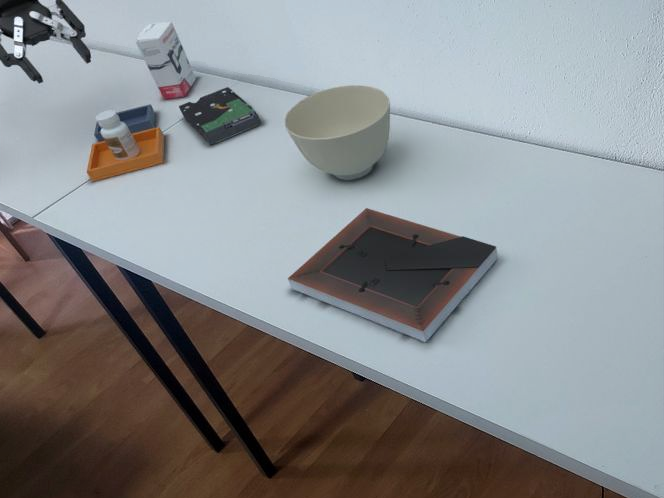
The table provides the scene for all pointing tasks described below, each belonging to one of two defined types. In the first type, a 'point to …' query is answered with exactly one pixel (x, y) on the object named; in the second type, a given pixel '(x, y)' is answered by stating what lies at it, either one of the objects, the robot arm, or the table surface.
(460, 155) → the table surface
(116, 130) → the pill bottle
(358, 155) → the bowl
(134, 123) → the slate tray
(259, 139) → the table surface
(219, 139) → the disk drive
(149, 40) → the ink box
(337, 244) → the picture frame
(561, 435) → the table surface
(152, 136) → the orange tray
